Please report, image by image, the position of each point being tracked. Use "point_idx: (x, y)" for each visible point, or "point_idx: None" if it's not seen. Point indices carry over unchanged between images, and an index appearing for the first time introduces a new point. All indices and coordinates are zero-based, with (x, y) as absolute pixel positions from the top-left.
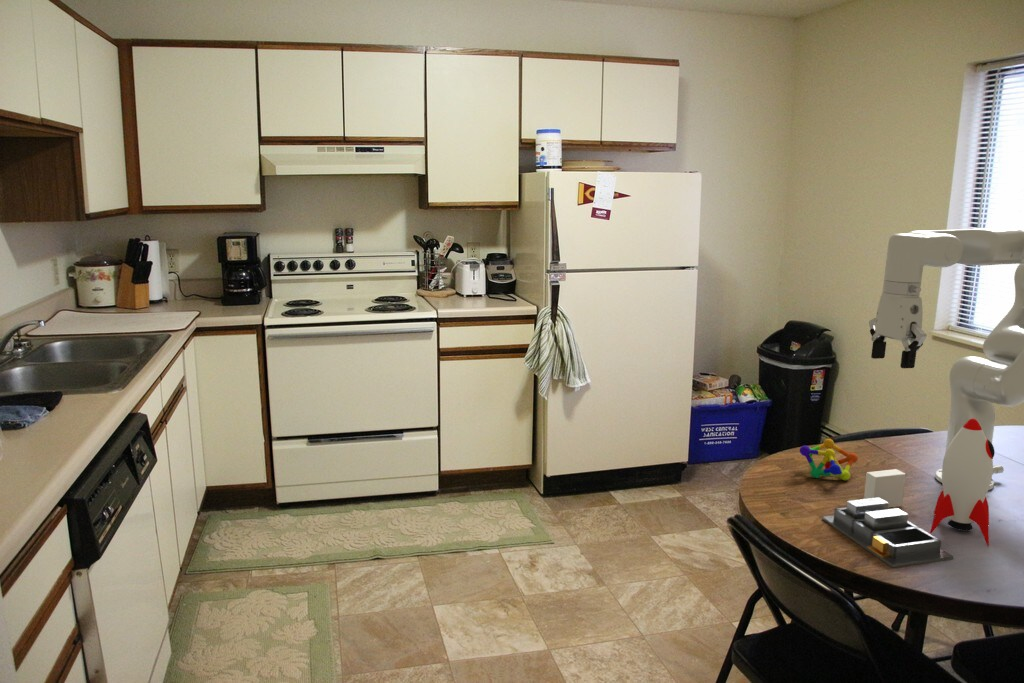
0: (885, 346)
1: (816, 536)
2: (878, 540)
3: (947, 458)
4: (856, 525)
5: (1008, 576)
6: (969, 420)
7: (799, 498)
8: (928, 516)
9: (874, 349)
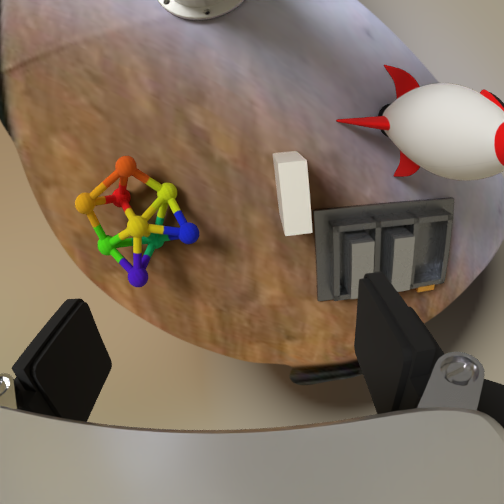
0: (50, 353)
1: None
2: (426, 290)
3: (450, 178)
4: None
5: None
6: None
7: (242, 298)
8: (340, 133)
9: (93, 404)
